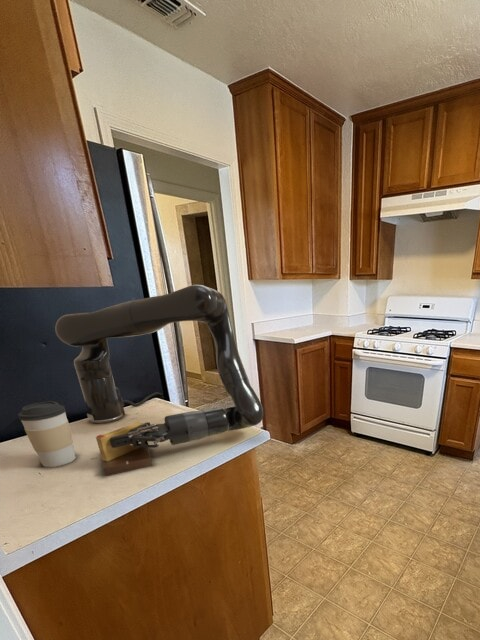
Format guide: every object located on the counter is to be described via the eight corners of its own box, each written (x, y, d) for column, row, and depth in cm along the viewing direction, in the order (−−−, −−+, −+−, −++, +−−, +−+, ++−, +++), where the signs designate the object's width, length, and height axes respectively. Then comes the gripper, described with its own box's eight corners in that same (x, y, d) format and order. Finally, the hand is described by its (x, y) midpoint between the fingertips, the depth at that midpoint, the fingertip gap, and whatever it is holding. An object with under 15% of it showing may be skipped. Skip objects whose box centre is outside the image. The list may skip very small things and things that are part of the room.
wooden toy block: (143, 442, 93) (137, 420, 91) (147, 444, 92) (142, 422, 90) (102, 460, 84) (95, 436, 82) (107, 461, 83) (100, 437, 81)
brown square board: (93, 454, 92) (91, 447, 91) (157, 442, 99) (155, 435, 98) (91, 480, 79) (89, 471, 79) (164, 463, 86) (162, 455, 86)
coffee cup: (44, 456, 91) (23, 401, 85) (84, 450, 94) (67, 396, 88) (31, 472, 83) (8, 412, 78) (75, 465, 86) (56, 407, 81)
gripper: (179, 406, 95) (105, 419, 86) (189, 420, 84) (106, 437, 76) (184, 432, 97) (113, 447, 89) (195, 449, 87) (115, 468, 79)
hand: (110, 442), depth 83 cm, fingers closed
